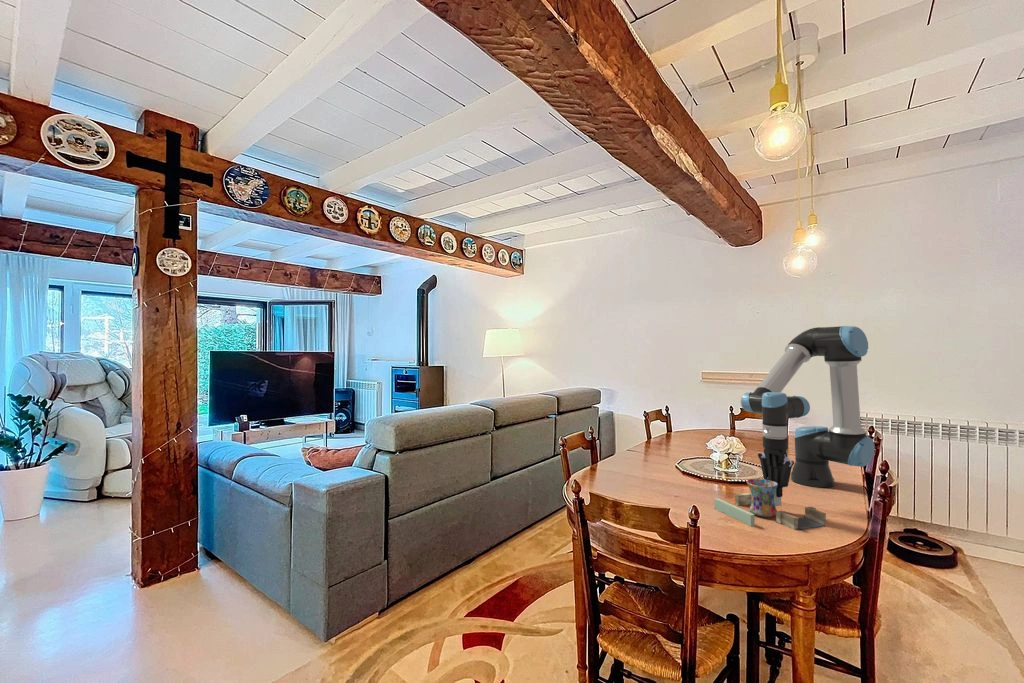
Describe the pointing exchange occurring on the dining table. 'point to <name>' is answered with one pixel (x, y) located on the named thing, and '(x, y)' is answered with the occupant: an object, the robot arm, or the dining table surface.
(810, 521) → the plate
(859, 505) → the dining table surface
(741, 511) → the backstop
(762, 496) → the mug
